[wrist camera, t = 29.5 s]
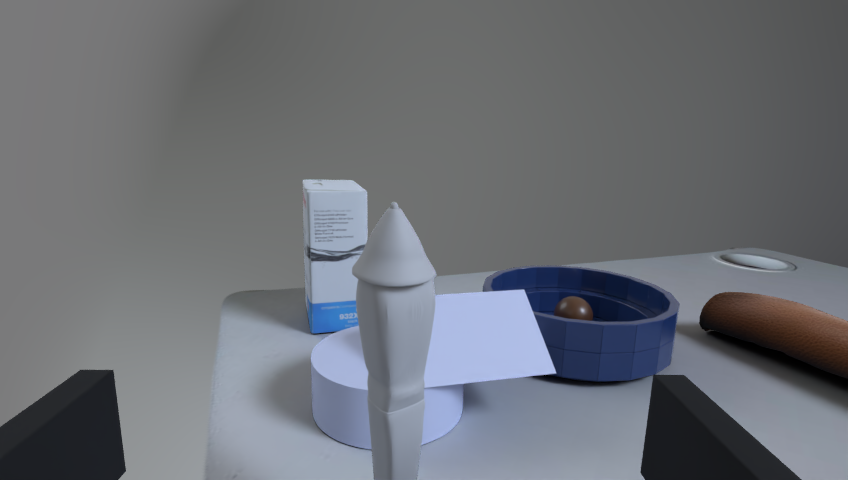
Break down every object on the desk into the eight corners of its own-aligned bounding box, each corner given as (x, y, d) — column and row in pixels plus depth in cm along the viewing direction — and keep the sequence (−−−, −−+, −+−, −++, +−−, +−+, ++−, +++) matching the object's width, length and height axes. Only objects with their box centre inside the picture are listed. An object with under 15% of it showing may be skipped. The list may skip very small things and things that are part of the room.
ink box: (369, 330, 40) (369, 188, 38) (308, 335, 39) (304, 189, 36) (355, 297, 48) (354, 178, 46) (304, 300, 47) (300, 178, 45)
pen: (382, 631, 16) (382, 212, 13) (344, 572, 18) (336, 199, 15) (441, 589, 17) (454, 204, 14) (399, 539, 20) (403, 194, 16)
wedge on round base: (491, 357, 36) (310, 375, 33) (496, 269, 34) (307, 279, 31) (551, 427, 27) (315, 461, 24) (561, 315, 26) (311, 334, 23)
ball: (555, 288, 40) (582, 302, 41) (541, 321, 40) (569, 335, 41) (577, 293, 37) (606, 307, 38) (562, 329, 37) (592, 343, 38)
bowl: (450, 354, 36) (452, 297, 35) (517, 301, 48) (520, 257, 47) (660, 413, 29) (669, 343, 28) (677, 333, 41) (684, 282, 40)
